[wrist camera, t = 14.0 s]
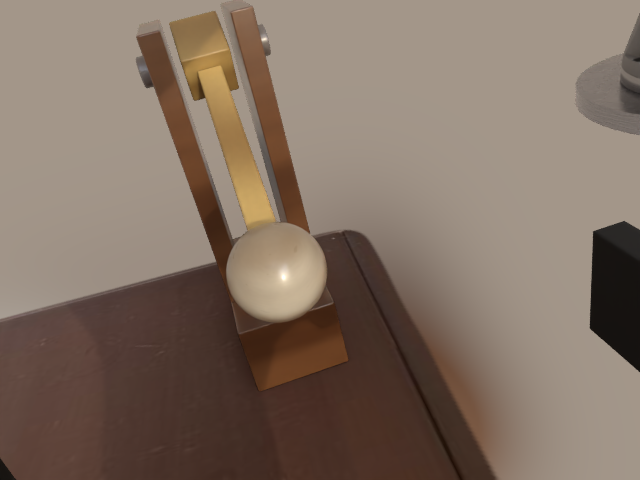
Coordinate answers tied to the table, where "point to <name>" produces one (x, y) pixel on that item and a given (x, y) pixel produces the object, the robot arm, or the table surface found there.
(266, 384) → the switch bracket
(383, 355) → the table surface
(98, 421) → the table surface
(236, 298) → the switch lever
